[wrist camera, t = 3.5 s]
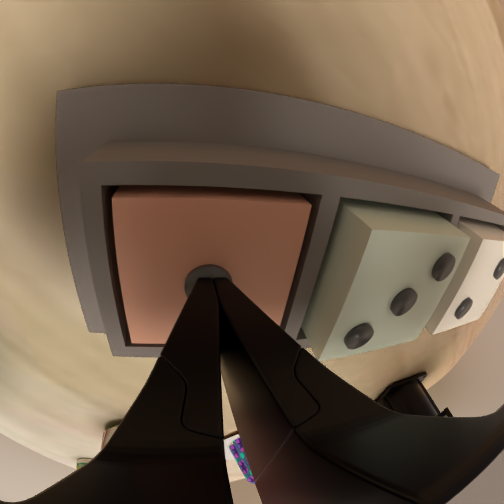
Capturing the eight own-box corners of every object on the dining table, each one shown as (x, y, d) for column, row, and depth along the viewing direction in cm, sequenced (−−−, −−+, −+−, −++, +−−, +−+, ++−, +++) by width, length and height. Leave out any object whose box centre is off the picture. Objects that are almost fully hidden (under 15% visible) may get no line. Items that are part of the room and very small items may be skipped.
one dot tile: (278, 174, 10) (314, 208, 7) (257, 288, 13) (277, 342, 10) (132, 167, 9) (109, 200, 6) (138, 289, 11) (131, 347, 9)
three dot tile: (422, 204, 11) (473, 240, 8) (384, 298, 13) (418, 342, 11) (323, 188, 9) (376, 233, 7) (291, 307, 12) (319, 365, 9)
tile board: (489, 169, 14) (531, 192, 10) (436, 298, 19) (465, 330, 16) (67, 90, 7) (12, 95, 4) (92, 318, 13) (78, 380, 10)
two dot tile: (484, 217, 12) (521, 245, 10) (451, 289, 15) (481, 320, 12) (438, 207, 11) (486, 241, 8) (400, 296, 14) (434, 337, 11)
